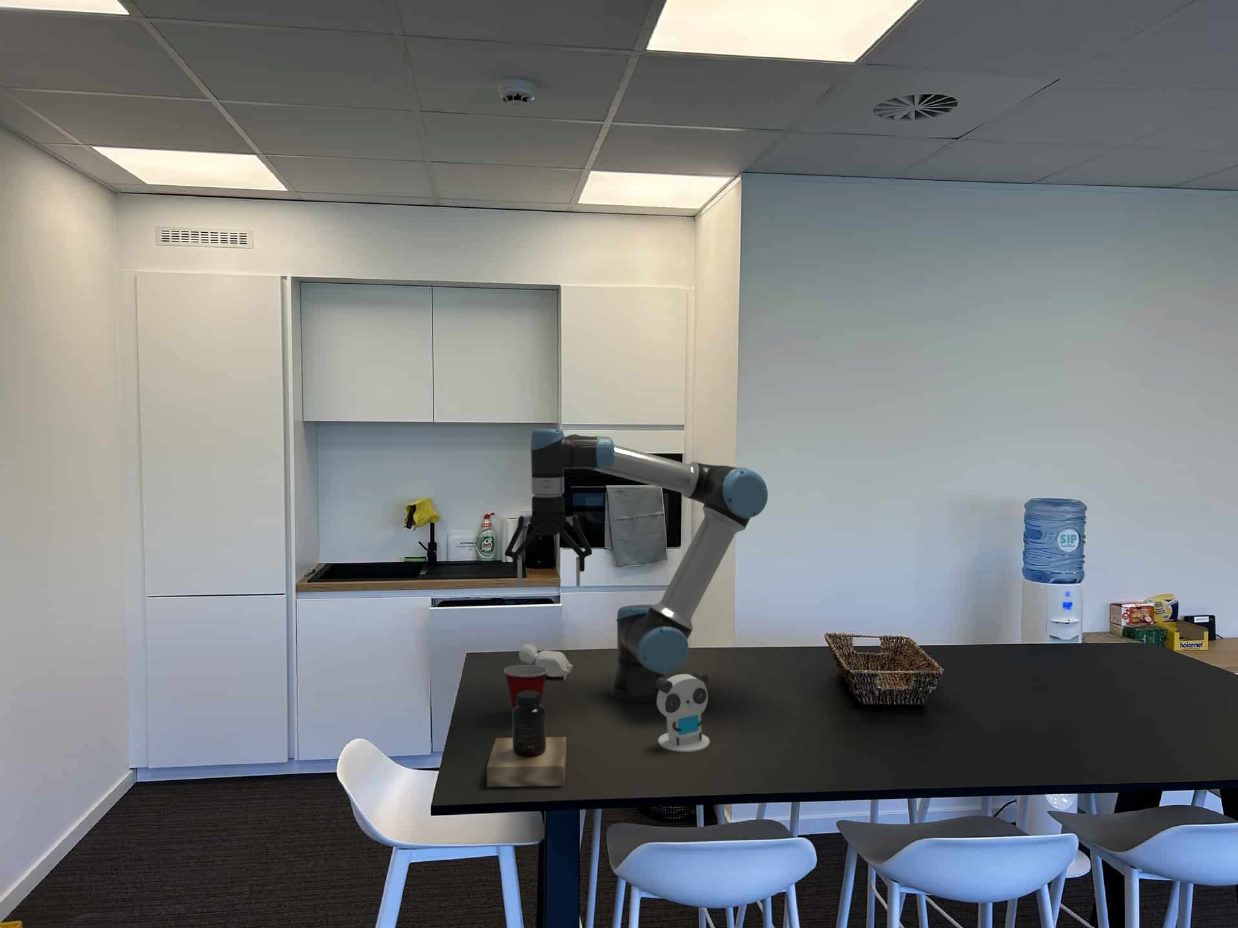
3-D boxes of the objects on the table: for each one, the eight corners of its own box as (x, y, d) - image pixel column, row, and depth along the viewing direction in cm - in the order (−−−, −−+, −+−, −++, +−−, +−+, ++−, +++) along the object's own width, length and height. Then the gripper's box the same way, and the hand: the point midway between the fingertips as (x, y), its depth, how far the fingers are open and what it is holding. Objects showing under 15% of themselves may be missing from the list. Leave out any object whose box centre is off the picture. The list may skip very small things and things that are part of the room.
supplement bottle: (513, 745, 182) (512, 689, 181) (545, 743, 182) (545, 687, 182) (512, 758, 175) (511, 700, 174) (546, 757, 176) (545, 698, 175)
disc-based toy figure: (672, 756, 186) (672, 687, 185) (646, 738, 196) (646, 672, 195) (719, 745, 191) (719, 678, 190) (691, 728, 201) (691, 665, 200)
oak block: (566, 755, 187) (566, 736, 186) (563, 785, 172) (563, 765, 171) (496, 756, 186) (496, 737, 186) (487, 786, 171) (486, 766, 171)
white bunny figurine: (566, 682, 246) (518, 661, 247) (577, 655, 244) (528, 634, 246) (559, 692, 237) (509, 670, 239) (570, 664, 236) (520, 642, 238)
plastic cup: (556, 711, 213) (555, 663, 212) (538, 727, 203) (537, 676, 202) (516, 707, 217) (515, 659, 216) (496, 722, 206) (495, 672, 206)
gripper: (492, 497, 198) (493, 589, 200) (601, 496, 199) (602, 588, 200) (496, 494, 206) (497, 582, 207) (601, 493, 206) (602, 581, 208)
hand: (549, 585), depth 204 cm, fingers open, 13 cm apart
